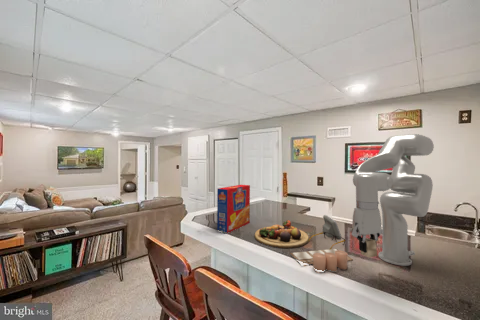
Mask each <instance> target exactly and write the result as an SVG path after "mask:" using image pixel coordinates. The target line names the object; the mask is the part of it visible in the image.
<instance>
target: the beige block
mask: <svg viewBox="0 0 480 320" xmlns="http://www.w3.org/2000/svg"><path fill="white" fill-rule="evenodd" d="M365 242H366V246H367V252H366V253H364V252H363V251H361V250H360V249H359V250H360V251H359V252H360V255H361V256H364V257H367V258H374V257H378V251H377V249H376V246H377V241H376V240H373V239H370V237H366V239H365Z"/></svg>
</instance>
